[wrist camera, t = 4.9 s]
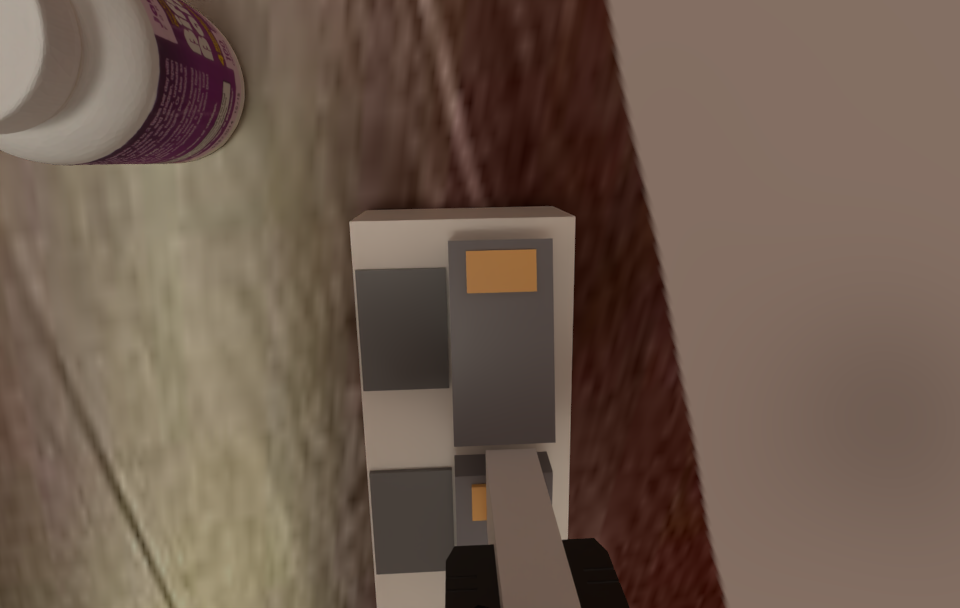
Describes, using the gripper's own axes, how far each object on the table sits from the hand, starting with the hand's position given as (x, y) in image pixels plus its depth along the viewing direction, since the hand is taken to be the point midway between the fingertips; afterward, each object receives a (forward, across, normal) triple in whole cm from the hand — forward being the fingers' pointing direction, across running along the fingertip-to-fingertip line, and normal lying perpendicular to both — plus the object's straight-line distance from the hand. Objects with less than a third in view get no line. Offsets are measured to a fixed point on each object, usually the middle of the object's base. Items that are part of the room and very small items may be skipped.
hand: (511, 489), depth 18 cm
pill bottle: (+7, -11, +12) cm, 18 cm away
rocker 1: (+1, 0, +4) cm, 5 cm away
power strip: (+7, -1, -3) cm, 7 cm away
